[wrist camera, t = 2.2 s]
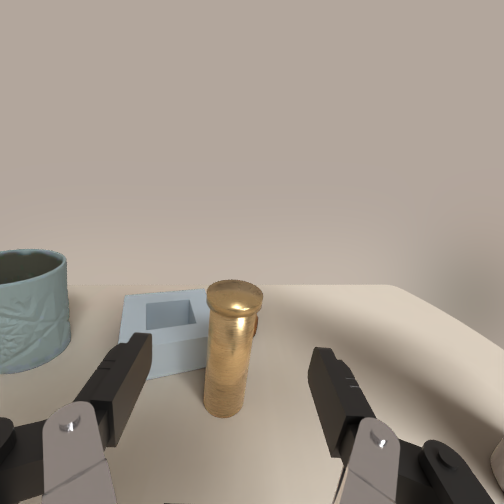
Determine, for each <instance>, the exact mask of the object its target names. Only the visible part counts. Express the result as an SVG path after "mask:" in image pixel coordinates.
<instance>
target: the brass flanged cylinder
mask: <svg viewBox="0 0 504 504" xmlns="http://www.w3.org/2000/svg"><path fill="white" fill-rule="evenodd" d="M262 300H263V293H262V291H261V290H260V289H259V288H258V287H256V286H255V285H253V284H251V283H248V282H245V281H240V280H222V281H218V282H215V283H213V284H212V285H210V286H209V287H208V289H207V298H206V303H207V306H208V307H209V308H210V315H209V329H208V343H207V358H206V372H205V386H204V406H205V408H206V410H207V411H208V412H209V413H210V414H211V415H213V416H215V417H218V418H228V417H231V416H233V415H235V414H236V413H238V412H239V410H240V409H241V407H242V405H243V400H244V394H245V387H246V380H247V373H248V366H249V360H250V353H251V346H252V339H253V332H254V325H255V319H256V313H257V312H258V311H259V310H260V309H261V306H262Z"/></svg>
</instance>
